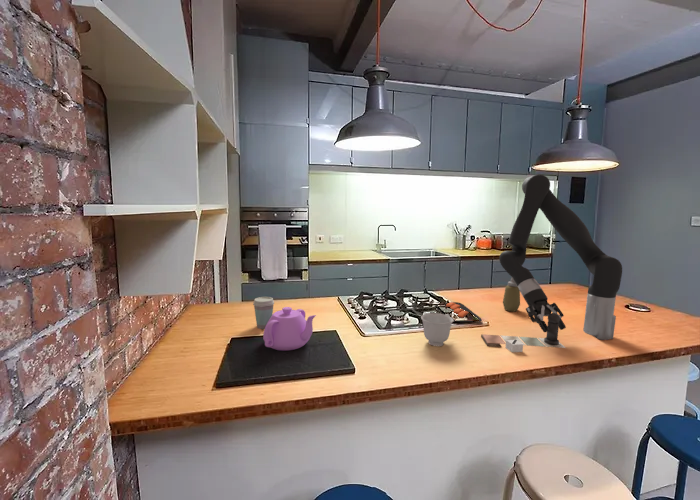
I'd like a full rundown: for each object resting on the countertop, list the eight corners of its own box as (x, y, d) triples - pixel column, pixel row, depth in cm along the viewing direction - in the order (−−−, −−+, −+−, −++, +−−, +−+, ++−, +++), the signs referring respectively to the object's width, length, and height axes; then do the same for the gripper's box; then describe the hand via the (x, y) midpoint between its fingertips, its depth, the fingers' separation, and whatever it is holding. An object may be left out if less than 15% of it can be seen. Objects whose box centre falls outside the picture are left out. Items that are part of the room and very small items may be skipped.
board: (555, 341, 133) (555, 338, 133) (566, 351, 124) (567, 348, 124) (481, 336, 137) (481, 333, 136) (487, 346, 128) (487, 342, 128)
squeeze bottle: (503, 306, 178) (506, 272, 176) (520, 309, 173) (524, 275, 171) (500, 310, 172) (503, 275, 169) (517, 313, 167) (521, 277, 164)
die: (515, 350, 125) (516, 338, 124) (522, 354, 121) (523, 343, 120) (505, 350, 124) (506, 339, 123) (511, 355, 120) (512, 343, 119)
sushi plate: (484, 325, 152) (484, 316, 151) (418, 325, 150) (418, 317, 149) (459, 305, 180) (460, 298, 180) (404, 305, 179) (404, 298, 178)
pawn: (555, 340, 131) (558, 311, 129) (561, 345, 126) (564, 315, 125) (541, 339, 132) (544, 311, 130) (547, 344, 127) (550, 315, 125)
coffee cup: (278, 326, 143) (278, 299, 142) (260, 332, 137) (260, 303, 136) (267, 321, 149) (266, 295, 148) (249, 326, 143) (249, 299, 141)
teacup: (461, 341, 132) (463, 316, 130) (441, 353, 121) (443, 326, 120) (434, 332, 140) (435, 309, 139) (413, 342, 129) (414, 317, 128)
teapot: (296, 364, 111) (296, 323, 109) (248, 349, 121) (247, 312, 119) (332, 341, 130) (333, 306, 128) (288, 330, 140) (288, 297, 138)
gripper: (524, 289, 131) (548, 327, 122) (551, 286, 136) (576, 323, 127) (512, 298, 137) (534, 336, 128) (539, 296, 142) (561, 332, 132)
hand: (555, 330), depth 127 cm, fingers open, 8 cm apart
